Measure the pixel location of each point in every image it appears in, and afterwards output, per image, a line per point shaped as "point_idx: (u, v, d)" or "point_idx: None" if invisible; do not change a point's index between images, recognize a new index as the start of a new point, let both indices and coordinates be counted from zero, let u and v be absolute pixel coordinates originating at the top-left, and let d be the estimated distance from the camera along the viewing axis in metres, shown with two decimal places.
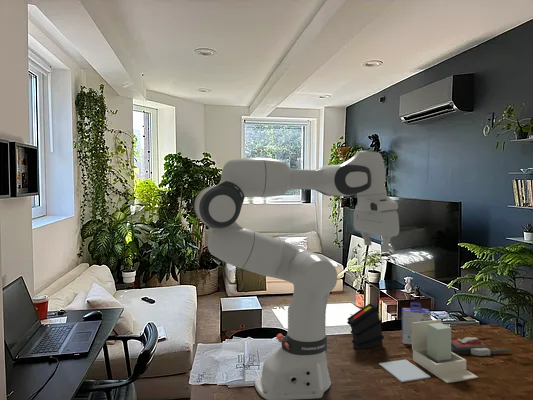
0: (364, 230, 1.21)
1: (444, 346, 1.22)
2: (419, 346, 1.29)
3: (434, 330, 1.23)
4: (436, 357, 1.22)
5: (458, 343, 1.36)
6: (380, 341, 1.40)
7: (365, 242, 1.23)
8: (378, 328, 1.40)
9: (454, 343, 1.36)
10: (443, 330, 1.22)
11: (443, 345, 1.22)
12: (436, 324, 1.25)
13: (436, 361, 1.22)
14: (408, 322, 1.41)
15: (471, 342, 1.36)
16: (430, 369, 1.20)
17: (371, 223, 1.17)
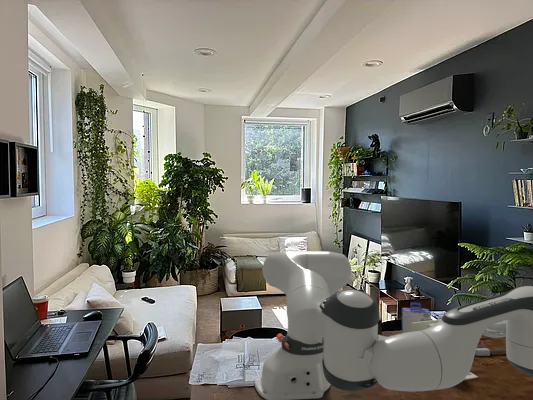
0: None
1: None
2: None
3: None
4: None
5: None
6: None
7: None
8: (378, 328, 1.40)
9: None
10: None
11: None
12: None
13: None
14: (408, 322, 1.41)
15: None
16: None
17: None
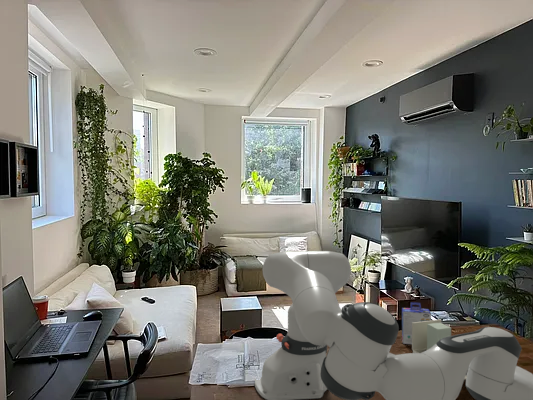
0: None
1: None
2: (419, 346, 1.29)
3: (434, 330, 1.23)
4: None
5: None
6: None
7: None
8: None
9: None
10: (443, 330, 1.22)
11: None
12: (436, 324, 1.26)
13: None
14: (408, 322, 1.41)
15: None
16: None
17: None
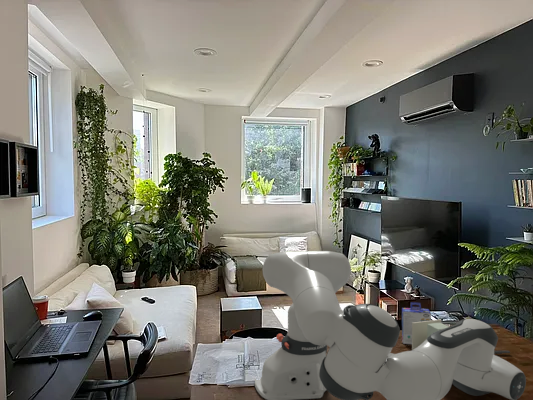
0: None
1: None
2: None
3: (434, 330, 1.23)
4: None
5: None
6: None
7: None
8: None
9: None
10: None
11: None
12: (436, 324, 1.25)
13: None
14: (408, 322, 1.41)
15: None
16: None
17: None
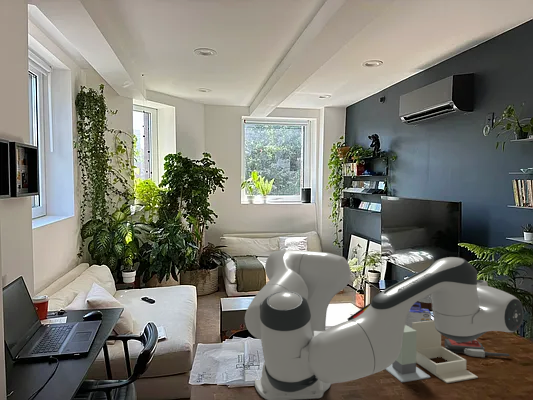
0: None
1: (408, 349, 1.18)
2: (419, 346, 1.29)
3: None
4: (401, 361, 1.18)
5: (453, 342, 1.37)
6: None
7: None
8: None
9: (449, 341, 1.37)
10: (408, 334, 1.18)
11: (408, 349, 1.18)
12: None
13: (401, 365, 1.18)
14: (408, 322, 1.41)
15: (468, 343, 1.36)
16: (430, 369, 1.20)
17: None
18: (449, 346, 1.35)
